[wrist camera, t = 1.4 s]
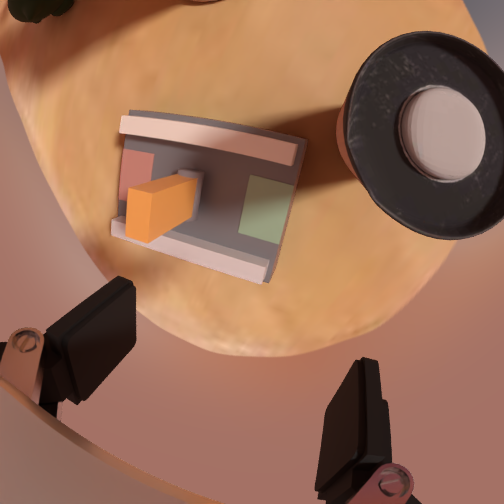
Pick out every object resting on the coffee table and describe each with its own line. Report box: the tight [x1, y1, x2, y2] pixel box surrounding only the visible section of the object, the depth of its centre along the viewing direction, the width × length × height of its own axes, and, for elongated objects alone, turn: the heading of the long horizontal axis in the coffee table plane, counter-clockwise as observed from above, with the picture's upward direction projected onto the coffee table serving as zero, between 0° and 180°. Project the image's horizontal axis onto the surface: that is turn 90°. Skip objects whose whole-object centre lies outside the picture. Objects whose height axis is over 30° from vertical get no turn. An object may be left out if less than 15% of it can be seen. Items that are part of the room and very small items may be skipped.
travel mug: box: [336, 31, 504, 240], centre depth 17 cm, size 8×8×20 cm
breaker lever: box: [125, 168, 205, 244], centre depth 24 cm, size 4×2×9 cm, turn 168°
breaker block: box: [111, 110, 308, 284], centre depth 29 cm, size 14×18×5 cm
